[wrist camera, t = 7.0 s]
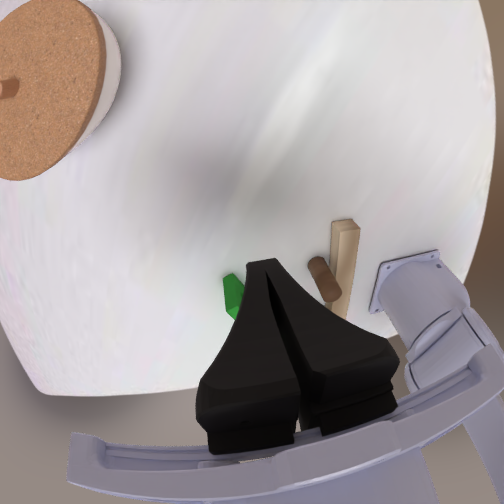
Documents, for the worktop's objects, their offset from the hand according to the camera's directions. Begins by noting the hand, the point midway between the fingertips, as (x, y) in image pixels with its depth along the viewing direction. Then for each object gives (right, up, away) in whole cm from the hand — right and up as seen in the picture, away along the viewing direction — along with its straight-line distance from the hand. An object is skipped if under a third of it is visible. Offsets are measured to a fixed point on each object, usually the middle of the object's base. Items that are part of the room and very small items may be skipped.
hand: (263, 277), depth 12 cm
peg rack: (+7, -3, +16) cm, 17 cm away
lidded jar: (-14, +14, +1) cm, 19 cm away
